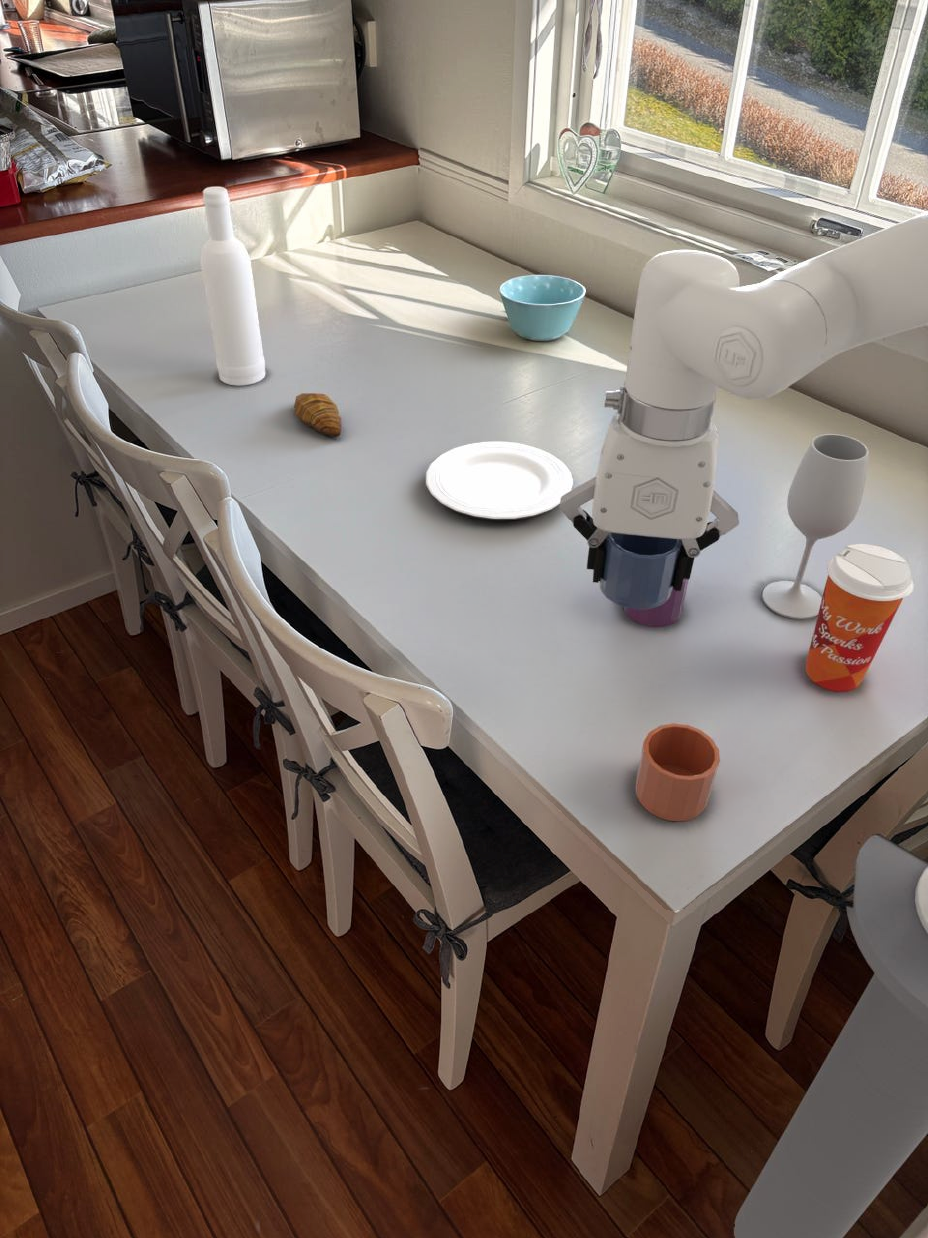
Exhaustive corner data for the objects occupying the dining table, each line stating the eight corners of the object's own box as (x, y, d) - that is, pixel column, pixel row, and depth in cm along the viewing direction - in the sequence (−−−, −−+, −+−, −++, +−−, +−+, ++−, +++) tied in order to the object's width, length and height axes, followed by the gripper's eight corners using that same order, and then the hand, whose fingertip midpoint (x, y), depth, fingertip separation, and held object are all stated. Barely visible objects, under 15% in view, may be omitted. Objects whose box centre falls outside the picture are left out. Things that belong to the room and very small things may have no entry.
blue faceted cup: (686, 592, 89) (697, 541, 85) (635, 618, 85) (644, 567, 82) (634, 557, 93) (643, 507, 89) (584, 581, 90) (591, 530, 86)
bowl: (480, 330, 174) (481, 286, 169) (538, 309, 182) (540, 267, 177) (540, 356, 165) (544, 311, 160) (598, 333, 174) (603, 289, 168)
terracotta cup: (722, 798, 88) (735, 756, 84) (672, 833, 85) (683, 791, 81) (669, 755, 93) (679, 713, 89) (620, 786, 89) (628, 744, 85)
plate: (552, 447, 140) (552, 435, 139) (589, 522, 125) (590, 510, 123) (416, 457, 137) (416, 445, 136) (437, 535, 122) (436, 523, 120)
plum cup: (693, 612, 110) (702, 572, 106) (652, 634, 107) (660, 594, 103) (651, 583, 114) (658, 544, 110) (611, 604, 111) (617, 564, 107)
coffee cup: (781, 674, 102) (816, 564, 92) (815, 638, 107) (852, 531, 97) (853, 711, 98) (897, 601, 88) (885, 673, 102) (931, 564, 93)
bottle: (272, 368, 160) (249, 183, 141) (257, 388, 154) (230, 198, 135) (228, 364, 161) (199, 180, 142) (211, 383, 155) (178, 194, 136)
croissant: (280, 410, 148) (276, 381, 145) (318, 400, 151) (315, 372, 148) (316, 446, 140) (313, 416, 136) (356, 435, 142) (354, 405, 139)
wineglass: (822, 626, 108) (876, 470, 95) (756, 611, 110) (799, 456, 97) (827, 589, 114) (878, 437, 100) (764, 575, 116) (806, 424, 102)
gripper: (559, 421, 75) (543, 592, 86) (778, 440, 73) (731, 612, 85) (565, 381, 81) (548, 546, 92) (767, 397, 79) (725, 564, 91)
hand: (636, 577), depth 88 cm, fingers closed on blue faceted cup, 7 cm apart
